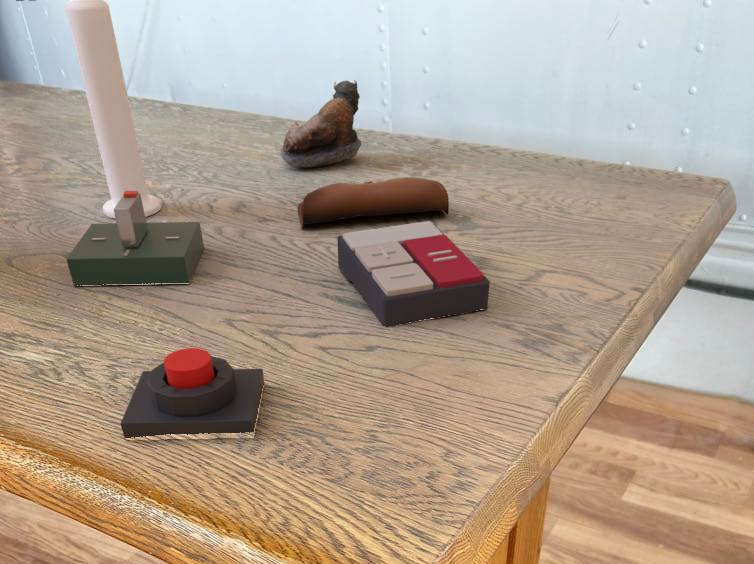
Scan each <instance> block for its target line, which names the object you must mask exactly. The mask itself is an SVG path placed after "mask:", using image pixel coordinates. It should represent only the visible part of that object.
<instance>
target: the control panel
mask: <svg viewBox="0 0 754 564" xmlns="http://www.w3.org/2000/svg"><path fill="white" fill-rule="evenodd" d="M146 223H147V227H148V231H147V233H146V234H145V236H144V238H143V239H142V241H141V243H140V245H139V246H138V247H137V248H123V246H122V242H121V238H120V234H119V230H118V226H117V222H115V223H114V222H113V223H91V224H90V226H89V227H88V228H87V230H86V231H85V233H84V234H83V235H82V237H81V238H80V239H79V241H78V242H77V243H76V245H75V246H74V247H73V249H72V250H71V252H70V253H69V254H68V256H67V257H66V263H67V267H68V270H69V274H70V277H71V281H72V284H73V287H74V286H77V285H78V286H80V285H81V286H82V285H103V284H104V285H106V284H142V283H143V284H145V283H146V284H148V283H150V284H151V283H154V284H155V283H161V284H162V283H189V282H190V280H191V281H192V279H193V277H192V275H193V276H194V274H195V271H196V269H197V267H198V265H199V262H200V259H201V257H202V255H203V251H204V250H205V244H204V238H203V233H202V232H203V231H202V227H201V222H200V221H179V222H178V221H177V222H176V221H175V222H174V221H173V222H171V221H170V222H167V221H166V222H146ZM191 278H192V279H191ZM190 283H191V282H190Z"/></svg>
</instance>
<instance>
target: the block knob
mask: <svg viewBox="0 0 754 564" xmlns="http://www.w3.org/2000/svg"><path fill="white" fill-rule="evenodd" d="M114 213H115V217H116V219H115V221H116V223H117V226H118V230H119V234H120V238H121V242H122V246H123V248H137V247H138V246H139V245H140V243H141V241H142V239H143V238H144V236H145V234H146V233H147V231H148V227H147V223H148V222H147V217H145V213H144V209H143V204H142V200H141V195H140V193H138V191H125V192H124V194H123V197H122V198H121V200H120V201H119V202H118V204H117V205H116V206H115V208H114Z"/></svg>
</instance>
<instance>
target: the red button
mask: <svg viewBox="0 0 754 564" xmlns="http://www.w3.org/2000/svg"><path fill="white" fill-rule="evenodd" d="M211 356H212V355H211V354H210V352H209V351H208V350H205V349H203V348H197V347H196V348H195V347H187V348H181V349H177V350H174V351H173V352H171V353H169V354H168V355H166V356H165V358H164V360H163V362H164V366H165V370H166V375H167V379H168V383H169V385H170V386H172V387H175V388H178V389H188V388H196V387H199V386H203V385H206V384H208V383H210V382H211V381H212V380H214V377H215V376H214V370H213V365H212V359H211Z"/></svg>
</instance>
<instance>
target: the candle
mask: <svg viewBox="0 0 754 564" xmlns="http://www.w3.org/2000/svg"><path fill="white" fill-rule="evenodd" d="M64 8H65V13H66V17H67V21H68V25H69V29H70V34H71V37H72V42H73V45H74V49H75V54H76V58H77V62H78V66H79V71H80V74H81V79H82V83H83V88H84V91H85V95H86V100H87V104H88V108H89V112H90V116H91V121H92V125H93V128H94V133H95V137H96V141H97V146H98V149H99V154H100V157H101V162H102V166H103V170H104V175H105V178H106V182H107V183H106V184H107V187H108V191H109V195H110V199H109V200H107V201H105V202H104V203H103V205H102V210H103V214H104V216H106V217H108V218H111V219H114V220H116V217H115V213H114V208H115V206H116V205H117V204H118V202H119V201H120V200H121V198H122V197H123V194H124V192H125V191H138V193H140V195H141V200H142V204H143V209H144V213H145V218H147V217H150V216H153V215H155V214H156V213H159V212H160V211H161V209H162V202H161V200H160V199H159V198H158V197H156V196H153V195H150V194H149V190H148V185H147V182H146V181H147V180H146V177H145V172H144V167H143V163H142V157H141V152H140V148H139V143H138V139H137V135H136V134H137V133H136V130H135V129H136V128H135V123H134V120H133V119H134V118H133V116H132V111H131V110H132V109H131V106H130V101H129V95H128V91H127V88H126V87H127V86H126V82H125V77H124V71H123V68H122V63H121V58H120V53H119V49H118V43H117V39H116V34H115V29H114V23H113V20H112V16H111V11H110V6H109V4H108V3H107V2H106V1H105V0H69V1H68V2H67V3H66V4H65V7H64Z"/></svg>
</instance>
